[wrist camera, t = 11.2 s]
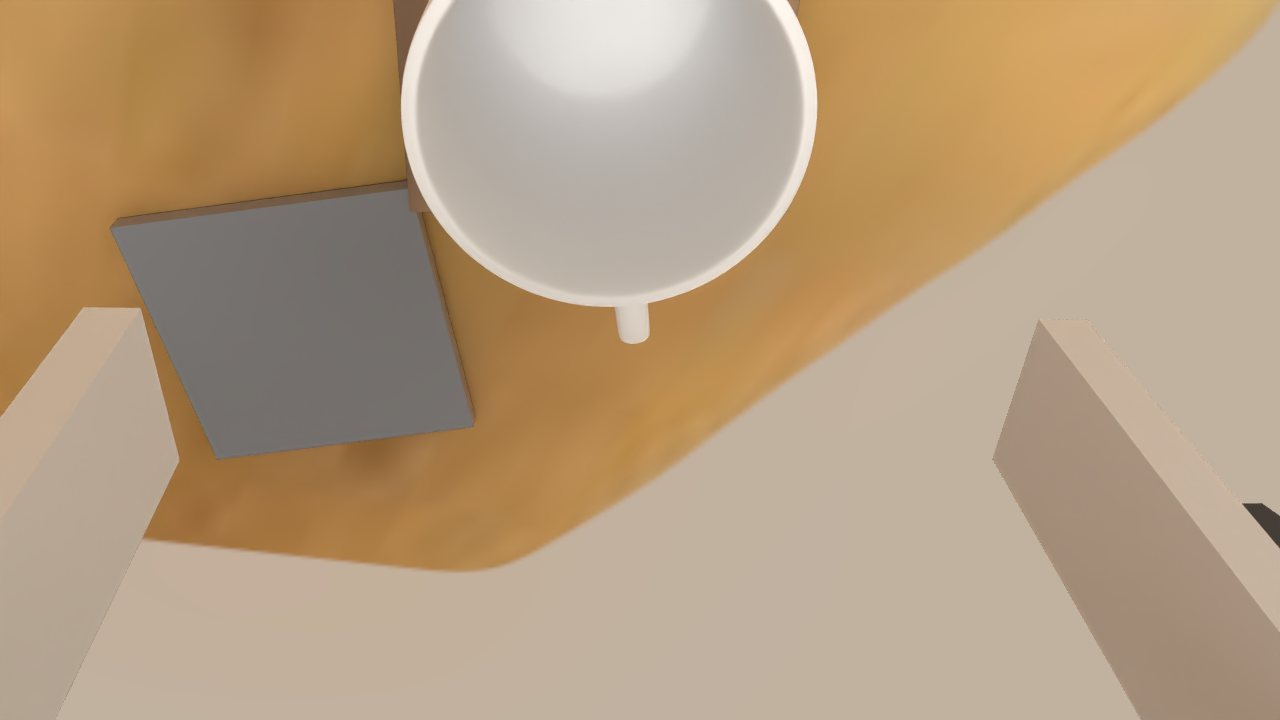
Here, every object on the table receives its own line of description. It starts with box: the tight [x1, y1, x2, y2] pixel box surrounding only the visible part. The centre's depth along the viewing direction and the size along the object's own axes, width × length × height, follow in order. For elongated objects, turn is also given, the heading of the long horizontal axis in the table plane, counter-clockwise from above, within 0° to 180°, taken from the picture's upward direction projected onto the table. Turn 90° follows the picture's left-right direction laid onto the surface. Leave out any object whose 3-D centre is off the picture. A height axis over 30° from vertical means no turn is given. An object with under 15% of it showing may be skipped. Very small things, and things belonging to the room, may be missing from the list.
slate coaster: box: [110, 180, 475, 460], centre depth 36 cm, size 10×10×1 cm
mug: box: [401, 0, 817, 344], centre depth 25 cm, size 12×8×12 cm
